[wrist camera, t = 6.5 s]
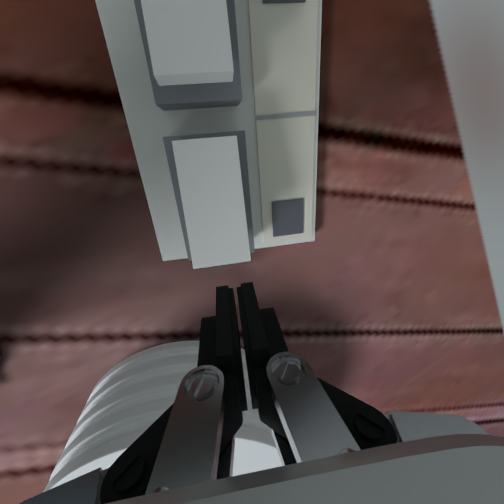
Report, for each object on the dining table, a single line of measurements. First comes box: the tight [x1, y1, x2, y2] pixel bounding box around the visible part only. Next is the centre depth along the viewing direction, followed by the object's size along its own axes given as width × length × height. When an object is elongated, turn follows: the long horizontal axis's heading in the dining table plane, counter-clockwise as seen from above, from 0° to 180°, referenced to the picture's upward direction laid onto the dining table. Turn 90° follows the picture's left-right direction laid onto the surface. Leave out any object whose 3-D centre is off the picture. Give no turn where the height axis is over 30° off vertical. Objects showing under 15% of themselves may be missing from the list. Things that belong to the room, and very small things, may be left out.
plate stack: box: [43, 340, 282, 492], centre depth 31 cm, size 28×28×12 cm
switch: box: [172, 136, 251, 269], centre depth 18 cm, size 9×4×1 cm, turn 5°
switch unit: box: [95, 0, 322, 261], centre depth 19 cm, size 24×16×4 cm, turn 4°
